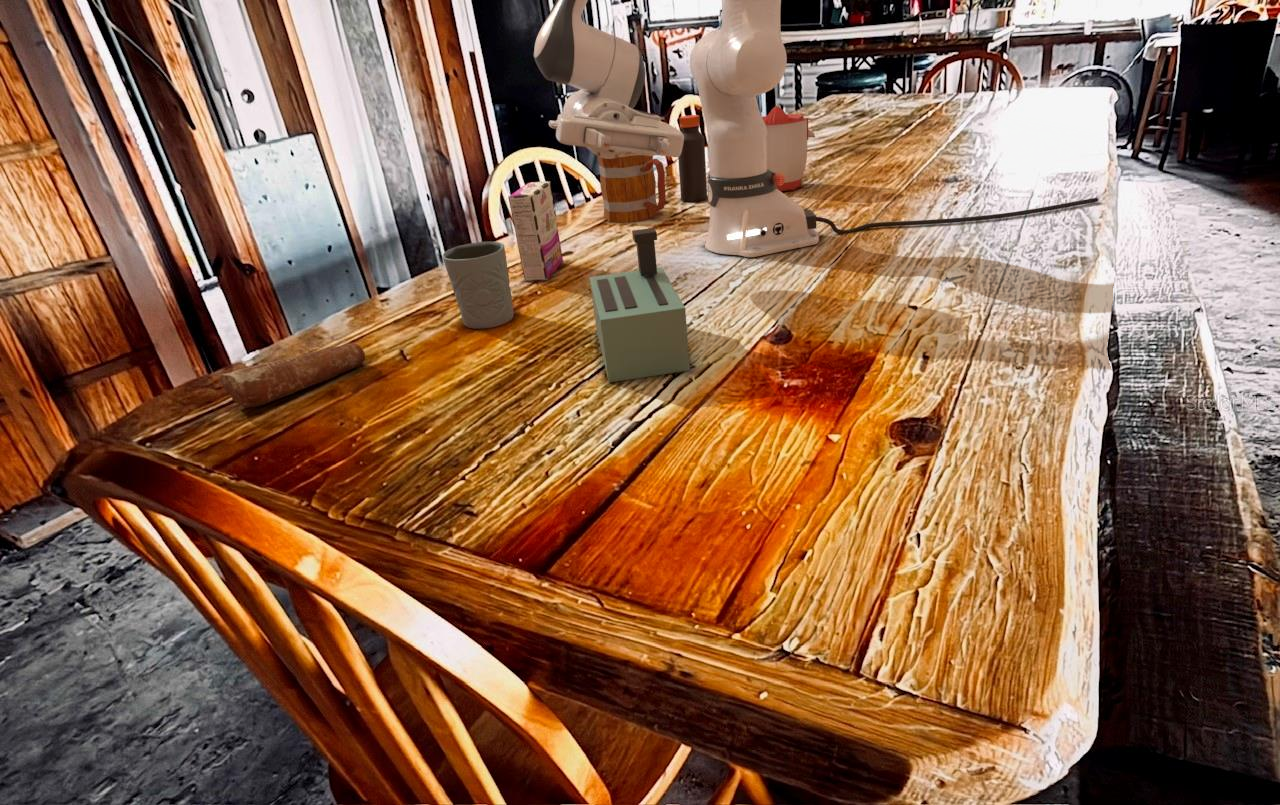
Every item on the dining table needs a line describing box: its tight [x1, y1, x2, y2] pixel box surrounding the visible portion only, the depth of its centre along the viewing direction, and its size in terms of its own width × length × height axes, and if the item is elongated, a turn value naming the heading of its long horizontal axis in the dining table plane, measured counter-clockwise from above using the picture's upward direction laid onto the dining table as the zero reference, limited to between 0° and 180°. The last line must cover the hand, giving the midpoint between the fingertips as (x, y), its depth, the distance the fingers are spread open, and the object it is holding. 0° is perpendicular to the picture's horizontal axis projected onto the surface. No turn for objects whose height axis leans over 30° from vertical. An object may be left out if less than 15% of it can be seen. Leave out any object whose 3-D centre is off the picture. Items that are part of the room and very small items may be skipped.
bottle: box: [677, 114, 708, 203], centre depth 177 cm, size 7×7×20 cm
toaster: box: [589, 266, 691, 383], centre depth 100 cm, size 11×18×9 cm, turn 8°
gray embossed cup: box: [442, 241, 515, 330], centre depth 116 cm, size 10×10×12 cm
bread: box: [218, 342, 366, 409], centre depth 100 cm, size 6×19×6 cm, turn 132°
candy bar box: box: [508, 181, 564, 282], centre depth 135 cm, size 11×5×16 cm, turn 168°
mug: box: [596, 155, 667, 224], centre depth 168 cm, size 20×14×15 cm
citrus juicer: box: [761, 105, 816, 192], centre depth 179 cm, size 16×17×20 cm
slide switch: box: [631, 227, 658, 276], centre depth 101 cm, size 3×2×6 cm
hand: (635, 145), depth 104 cm, fingers open, 8 cm apart
